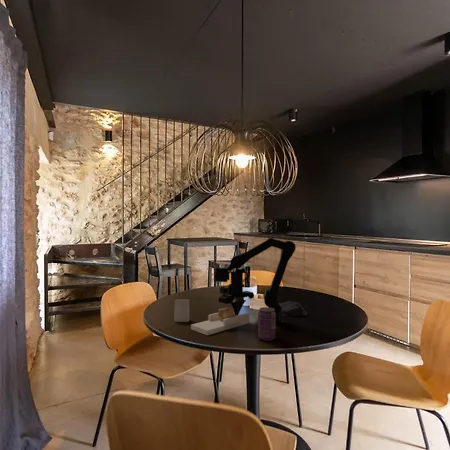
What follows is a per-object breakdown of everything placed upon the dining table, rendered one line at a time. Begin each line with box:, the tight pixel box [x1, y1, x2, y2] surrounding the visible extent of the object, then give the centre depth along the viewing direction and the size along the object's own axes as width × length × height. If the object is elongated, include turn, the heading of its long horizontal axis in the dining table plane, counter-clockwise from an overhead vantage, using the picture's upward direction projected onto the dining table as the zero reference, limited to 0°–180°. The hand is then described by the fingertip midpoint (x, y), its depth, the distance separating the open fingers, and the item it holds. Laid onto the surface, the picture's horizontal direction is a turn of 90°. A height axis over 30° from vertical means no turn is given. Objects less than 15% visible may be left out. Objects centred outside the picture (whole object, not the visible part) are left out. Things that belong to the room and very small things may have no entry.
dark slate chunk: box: [279, 300, 309, 317], centre depth 182 cm, size 15×22×5 cm
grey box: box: [173, 299, 190, 323], centre depth 163 cm, size 4×7×10 cm, turn 90°
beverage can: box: [257, 306, 277, 342], centre depth 138 cm, size 7×7×12 cm
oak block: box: [217, 307, 234, 321], centre depth 157 cm, size 5×5×5 cm
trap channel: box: [190, 312, 251, 336], centre depth 155 cm, size 11×26×4 cm, turn 133°
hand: (236, 315), depth 162 cm, fingers closed
